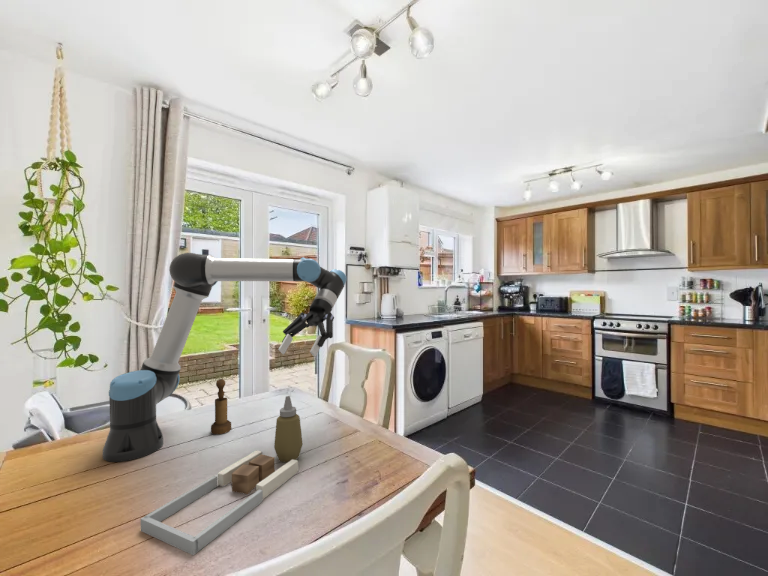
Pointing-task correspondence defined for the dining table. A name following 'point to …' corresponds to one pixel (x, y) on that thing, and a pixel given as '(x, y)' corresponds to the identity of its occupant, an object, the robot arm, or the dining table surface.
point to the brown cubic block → (264, 465)
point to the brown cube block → (245, 479)
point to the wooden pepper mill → (220, 411)
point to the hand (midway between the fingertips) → (296, 353)
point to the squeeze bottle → (288, 433)
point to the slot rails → (269, 482)
